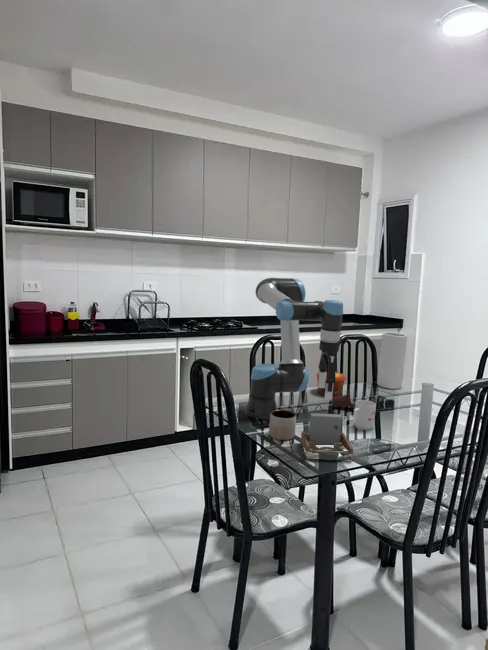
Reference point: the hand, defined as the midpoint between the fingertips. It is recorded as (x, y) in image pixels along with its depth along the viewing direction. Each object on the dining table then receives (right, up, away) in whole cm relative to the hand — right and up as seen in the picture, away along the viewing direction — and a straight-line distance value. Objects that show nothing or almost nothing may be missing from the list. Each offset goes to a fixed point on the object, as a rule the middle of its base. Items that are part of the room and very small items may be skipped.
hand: (324, 393), depth 180 cm
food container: (+16, -11, +73) cm, 75 cm away
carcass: (0, -22, -3) cm, 22 cm away
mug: (+21, -19, +24) cm, 37 cm away
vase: (+55, -10, +94) cm, 109 cm away
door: (0, -20, +1) cm, 20 cm away
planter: (-16, -19, +10) cm, 27 cm away
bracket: (+21, -15, +49) cm, 55 cm away
